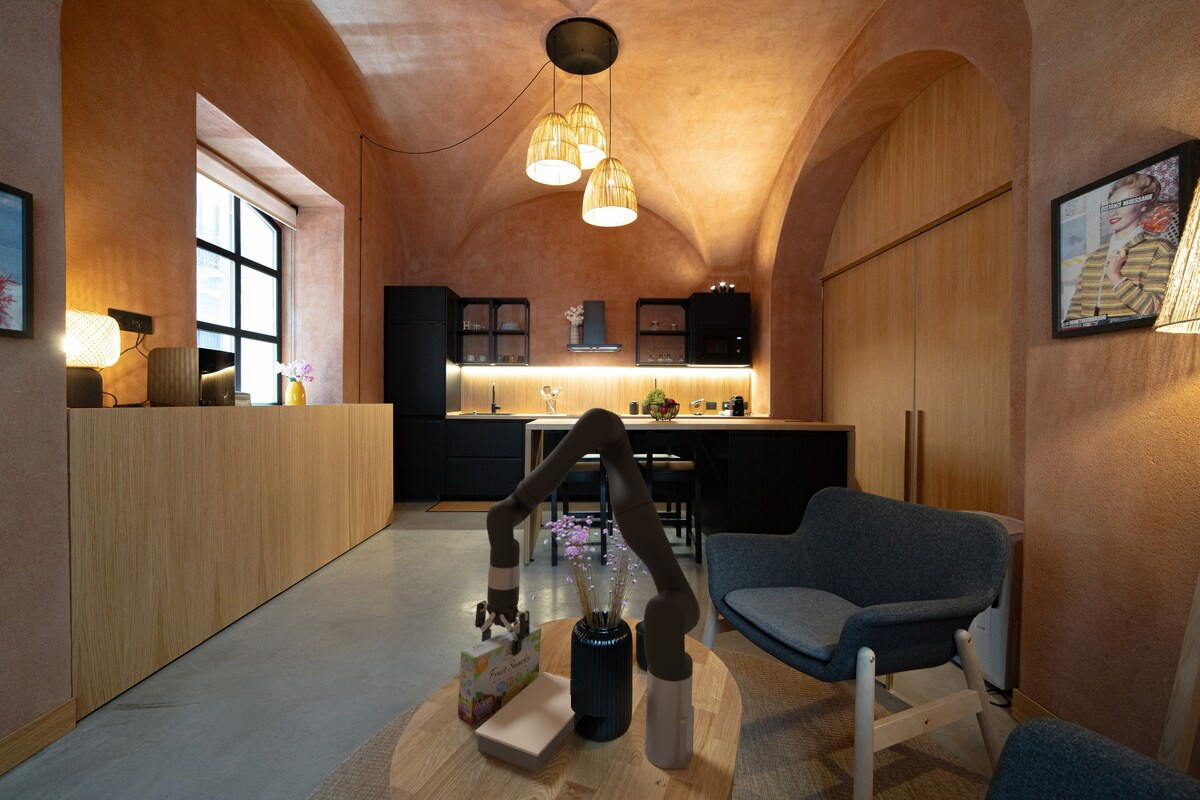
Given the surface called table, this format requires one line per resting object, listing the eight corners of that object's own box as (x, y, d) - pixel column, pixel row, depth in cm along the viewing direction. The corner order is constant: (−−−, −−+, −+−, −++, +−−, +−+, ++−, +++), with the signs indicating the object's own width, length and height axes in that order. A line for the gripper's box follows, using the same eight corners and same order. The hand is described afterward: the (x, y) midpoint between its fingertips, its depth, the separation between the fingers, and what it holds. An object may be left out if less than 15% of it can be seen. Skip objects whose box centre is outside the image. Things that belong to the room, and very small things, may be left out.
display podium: (597, 704, 124) (597, 687, 124) (537, 775, 100) (537, 754, 100) (543, 687, 130) (543, 671, 131) (474, 750, 106) (475, 731, 106)
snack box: (472, 726, 114) (475, 657, 114) (456, 716, 118) (459, 649, 118) (540, 687, 131) (542, 626, 131) (524, 679, 134) (526, 620, 135)
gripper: (537, 583, 125) (534, 650, 125) (489, 573, 132) (486, 637, 131) (519, 593, 119) (516, 664, 119) (470, 581, 125) (467, 649, 125)
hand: (501, 650), depth 125 cm, fingers open, 8 cm apart
